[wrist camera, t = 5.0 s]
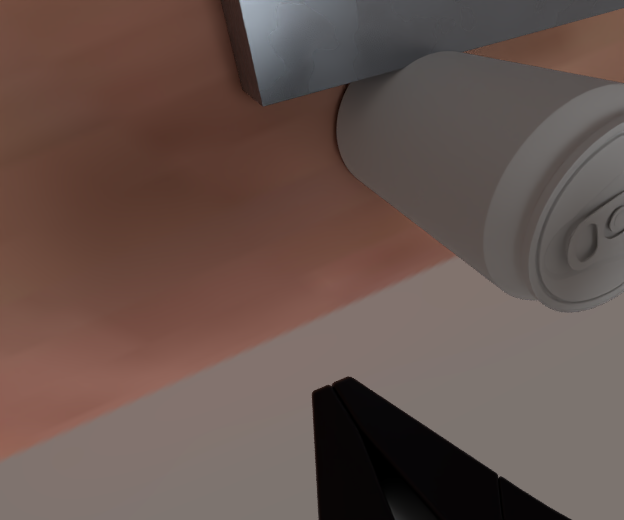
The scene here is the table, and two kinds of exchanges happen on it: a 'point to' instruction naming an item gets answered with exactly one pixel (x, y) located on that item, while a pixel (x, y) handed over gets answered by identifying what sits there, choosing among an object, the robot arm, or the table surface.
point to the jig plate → (372, 36)
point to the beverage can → (500, 169)
